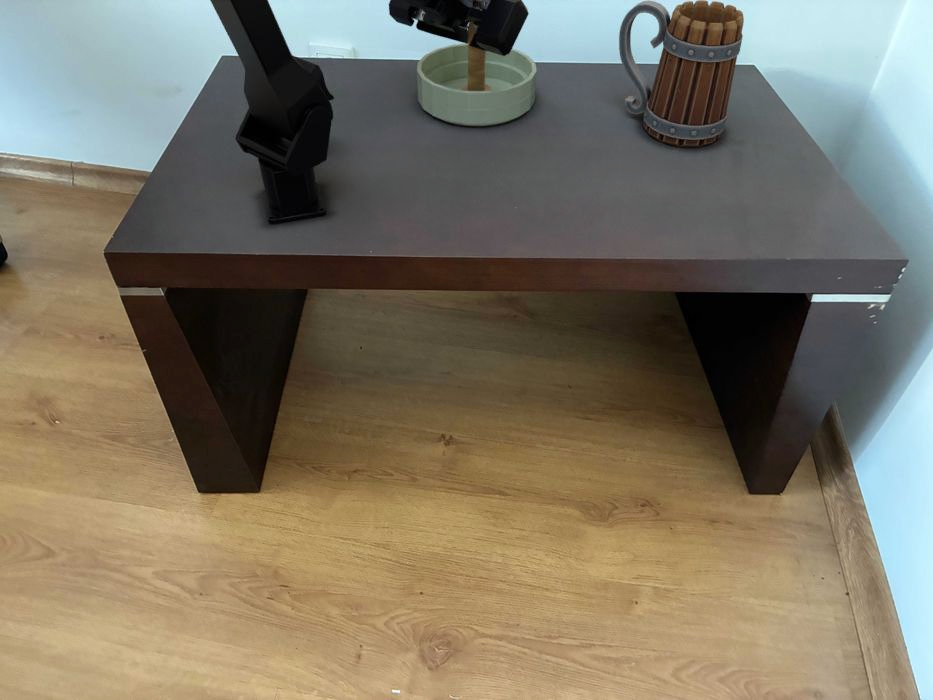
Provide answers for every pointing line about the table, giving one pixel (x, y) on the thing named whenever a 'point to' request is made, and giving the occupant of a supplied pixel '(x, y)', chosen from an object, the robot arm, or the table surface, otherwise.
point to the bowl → (449, 103)
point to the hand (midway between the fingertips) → (483, 44)
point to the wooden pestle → (475, 65)
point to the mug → (686, 70)
